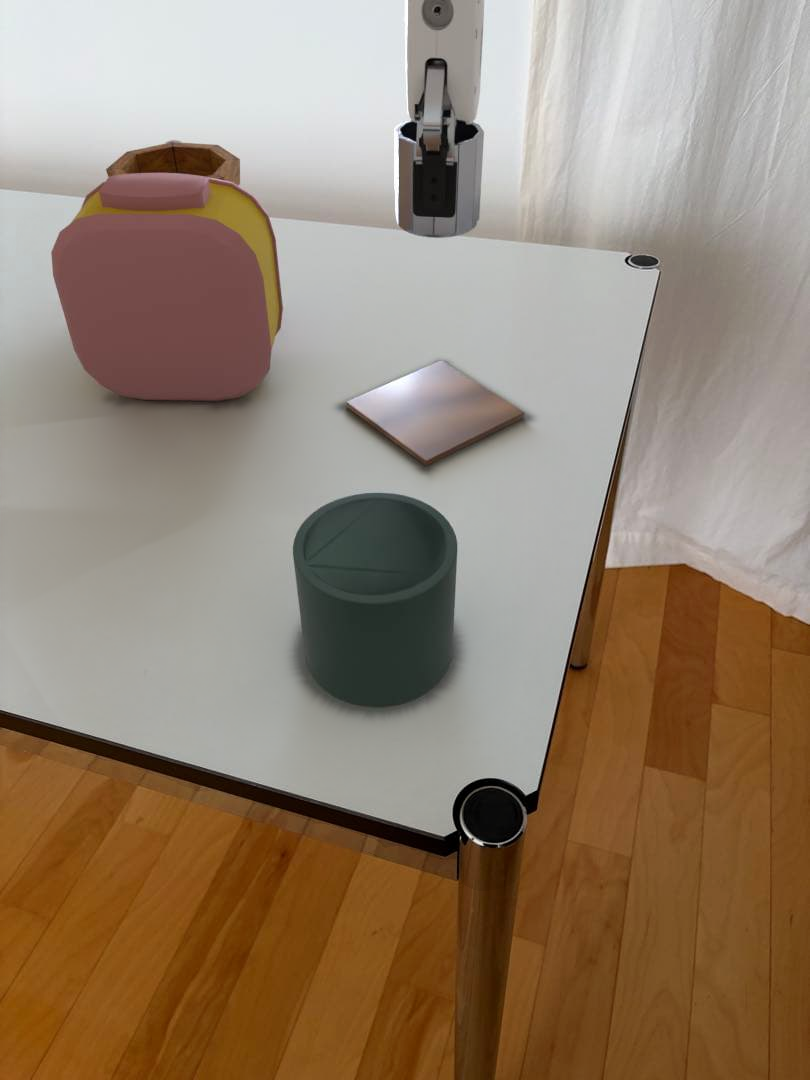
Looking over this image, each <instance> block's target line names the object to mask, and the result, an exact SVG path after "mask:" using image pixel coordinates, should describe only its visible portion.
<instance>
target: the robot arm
mask: <svg viewBox="0 0 810 1080" xmlns="http://www.w3.org/2000/svg"><path fill="white" fill-rule="evenodd" d="M404 2H405V3H404V6H405V7H404V28H405V29H404V35H405V36H404V40H405V47H404V48H405V49H404V50H405V85H406V89H405V90H406V107H407V116H408V117H409V120H412V121H414V122H415V123H416V122H417V137H416V160H414V162H413V213H414V214H415V215H416V216H420V217H443V218H452V217H453V216H454V215H455V211H456V187H457V162H454V148H455V131H456V118H457V120H466V124H471V123H472V122H474V121H475V120H476V119H477V115H478V109H479V103H480V95H481V80H482V79H481V78H482V77H481V75H482V59H483V41H484V40H483V38H484V37H483V36H484V18H485V0H405V1H404ZM443 116H447V117H443ZM442 128H445V129H448V132H447V138H446V134H442ZM446 148H447V149H446Z"/></svg>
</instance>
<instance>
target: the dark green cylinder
mask: <svg viewBox="0 0 810 1080" xmlns="http://www.w3.org/2000/svg"><path fill="white" fill-rule="evenodd" d="M292 558H293V565H294V574H295V583H296V592H297V599H298V600H297V601H298V609H299V617H300V626H301V633H302V641H303V650H304V651H303V652H304V658H305V662H306V666H307V669H308V671H309V673H310V675H311V676H312V678H313V679H314V681H315V682H316V683H317V684H318V685H319V686H320V687H321V688H322V689H323V690H324V691H325V692H327V693H328V694H330V695H331V696H333V697H335V698H337V699H338V700H341V701H343V702H346V703H349V704H352V705H355V706H359V707H361V706H362V707H368V708H383V707H384V708H385V707H393V706H399V705H402V704H405V703H406V704H407V703H409V702H411V701H414V700H415V699H418V698H420V697H421V696H424V695H425V694H427V693H428V692H430V691H431V690H432V689H433V688H434V687H436V686H437V685H438V684H439V682H440V681H441V680H442V679H443V677H444V676H445V675H446V673H447V671H448V670H449V668H450V665H451V662H452V658H453V649H454V648H453V647H454V627H455V625H454V624H455V609H456V608H455V607H456V605H455V604H456V589H457V588H456V586H457V567H458V566H457V565H458V539H457V535H456V533H455V530H454V528H453V526H452V525H451V523H450V521H449V520H448V519H447V517H445V516H444V515H443V514H442V513H441V512H440V511H439V510H437V508H435V507H433V506H432V505H430V504H428V503H426V502H425V501H423V500H420V499H417V498H415V497H411V496H408V495H404V494H399V493H394V492H386V491H385V492H383V491H381V492H380V491H371V492H362V493H355V494H351V495H346V496H343V497H339V498H337V499H334V500H332V501H330V502H327V503H326V504H324V505H322V506H320V507H319V508H317V509H316V510H314V511H313V512H312V513H311V514H310V515H309V516H307V517H306V519H305V520H304V521H303V522H302V523H301V525H300V526H299V527H298V530H297V531H296V534H295V536H294V539H293V544H292Z"/></svg>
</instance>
